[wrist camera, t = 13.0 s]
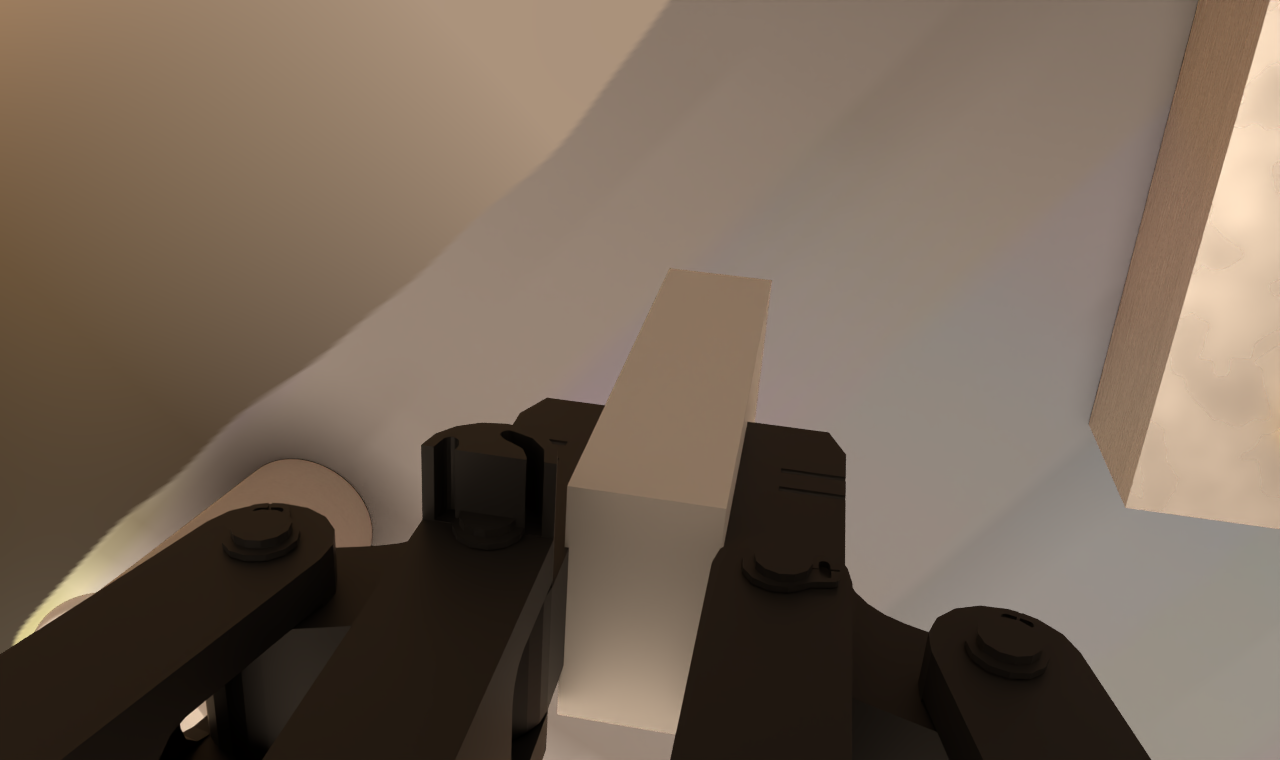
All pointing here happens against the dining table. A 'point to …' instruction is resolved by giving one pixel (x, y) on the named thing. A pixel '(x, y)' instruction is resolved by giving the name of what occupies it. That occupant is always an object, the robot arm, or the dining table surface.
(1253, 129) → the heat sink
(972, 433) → the dining table surface
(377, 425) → the dining table surface
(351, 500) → the coffee cup
